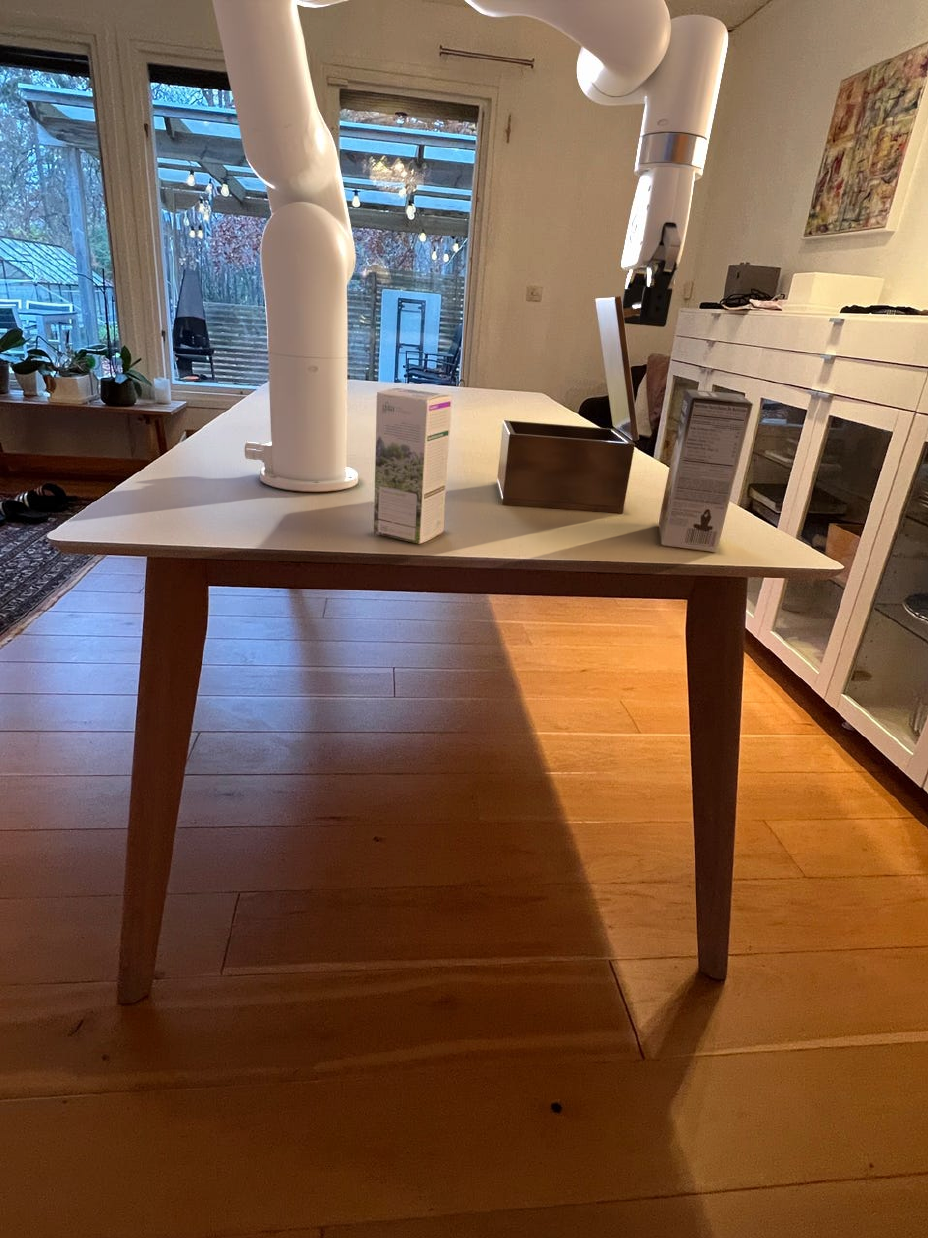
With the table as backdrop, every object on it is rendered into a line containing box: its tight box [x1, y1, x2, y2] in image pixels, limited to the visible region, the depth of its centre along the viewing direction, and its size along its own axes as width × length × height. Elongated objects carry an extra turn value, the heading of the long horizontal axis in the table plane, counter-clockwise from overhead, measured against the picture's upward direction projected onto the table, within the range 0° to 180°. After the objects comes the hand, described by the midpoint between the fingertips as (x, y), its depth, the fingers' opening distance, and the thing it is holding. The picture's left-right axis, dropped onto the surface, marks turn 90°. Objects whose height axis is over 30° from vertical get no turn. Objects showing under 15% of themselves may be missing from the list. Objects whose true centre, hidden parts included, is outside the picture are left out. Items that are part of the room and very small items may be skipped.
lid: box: [595, 295, 641, 442], centre depth 87 cm, size 16×12×5 cm
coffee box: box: [658, 389, 754, 553], centre depth 77 cm, size 9×6×16 cm
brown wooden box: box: [496, 419, 636, 514], centre depth 92 cm, size 16×12×9 cm
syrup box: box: [373, 387, 453, 545], centre depth 71 cm, size 6×6×14 cm
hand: (640, 324), depth 85 cm, fingers open, 9 cm apart
